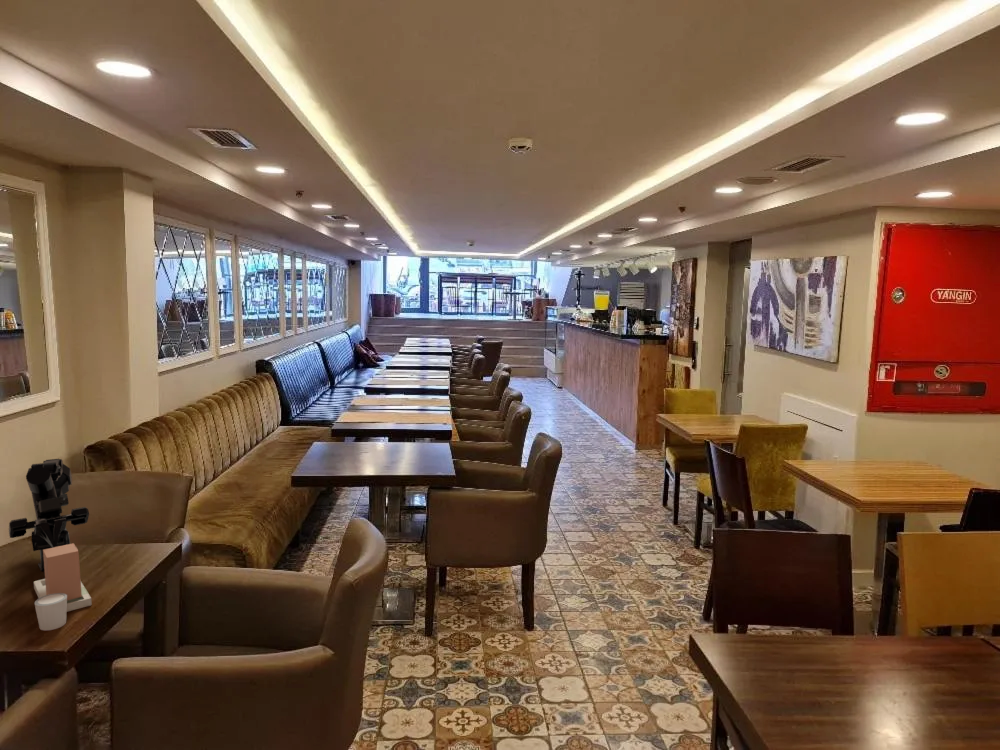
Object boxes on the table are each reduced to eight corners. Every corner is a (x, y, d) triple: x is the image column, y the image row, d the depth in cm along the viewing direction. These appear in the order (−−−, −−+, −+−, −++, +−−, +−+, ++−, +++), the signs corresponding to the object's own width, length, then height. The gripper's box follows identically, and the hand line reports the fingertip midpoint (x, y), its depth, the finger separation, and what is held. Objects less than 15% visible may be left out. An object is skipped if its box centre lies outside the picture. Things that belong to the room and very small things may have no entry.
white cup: (56, 632, 160) (54, 605, 159) (29, 631, 160) (27, 604, 160) (75, 618, 167) (73, 592, 166) (49, 617, 167) (47, 592, 166)
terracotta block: (46, 595, 175) (42, 549, 173) (76, 587, 180) (73, 543, 178) (50, 604, 170) (47, 557, 168) (81, 596, 175) (78, 550, 173)
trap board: (34, 588, 183) (33, 581, 183) (75, 578, 190) (74, 571, 190) (47, 617, 167) (46, 609, 167) (91, 604, 174) (91, 597, 174)
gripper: (6, 492, 178) (15, 542, 171) (85, 480, 190) (96, 526, 184) (5, 513, 184) (13, 561, 178) (81, 499, 197) (92, 544, 190)
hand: (55, 547), depth 182 cm, fingers closed
